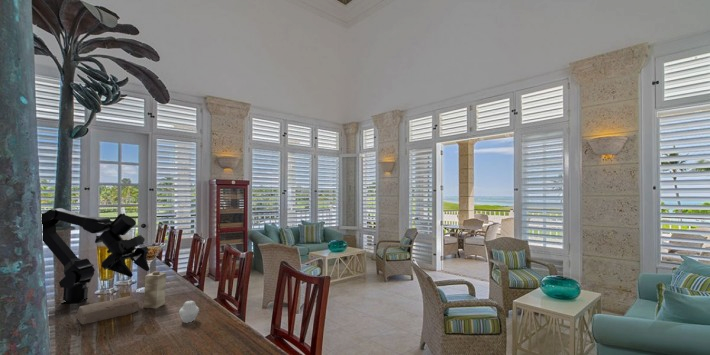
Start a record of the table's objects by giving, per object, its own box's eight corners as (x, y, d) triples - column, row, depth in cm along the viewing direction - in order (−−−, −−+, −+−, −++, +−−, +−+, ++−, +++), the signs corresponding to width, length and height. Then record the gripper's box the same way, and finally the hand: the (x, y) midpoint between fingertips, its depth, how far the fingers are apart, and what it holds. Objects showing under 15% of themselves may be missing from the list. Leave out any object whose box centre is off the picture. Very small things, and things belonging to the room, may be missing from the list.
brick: (82, 325, 110) (83, 311, 110) (75, 318, 115) (76, 305, 116) (139, 313, 123) (140, 299, 123) (131, 307, 128) (132, 294, 128)
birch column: (143, 307, 127) (145, 273, 128) (152, 303, 132) (154, 270, 133) (156, 308, 127) (158, 273, 128) (164, 303, 132) (166, 270, 133)
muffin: (175, 325, 113) (177, 303, 113) (181, 318, 119) (182, 297, 119) (195, 324, 114) (197, 303, 114) (200, 317, 120) (201, 297, 120)
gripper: (110, 232, 122) (138, 264, 121) (146, 226, 141) (170, 254, 140) (89, 253, 123) (116, 285, 121) (127, 245, 141) (150, 273, 140)
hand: (140, 273), depth 131 cm, fingers open, 9 cm apart
